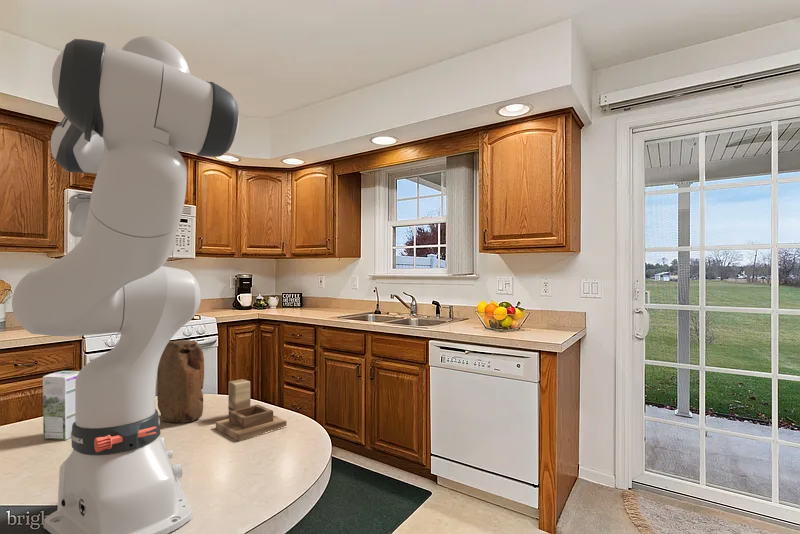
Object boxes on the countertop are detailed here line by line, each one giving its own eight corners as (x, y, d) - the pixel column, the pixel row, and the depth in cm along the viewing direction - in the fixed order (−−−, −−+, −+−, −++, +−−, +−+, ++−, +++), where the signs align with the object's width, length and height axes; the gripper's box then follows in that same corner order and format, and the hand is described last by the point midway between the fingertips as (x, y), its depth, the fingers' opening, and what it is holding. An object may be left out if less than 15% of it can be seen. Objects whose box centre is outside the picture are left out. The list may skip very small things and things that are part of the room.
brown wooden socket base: (286, 427, 106) (286, 410, 106) (239, 441, 98) (239, 423, 98) (261, 415, 115) (261, 400, 115) (215, 428, 106) (215, 411, 106)
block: (154, 420, 112) (154, 341, 112) (179, 411, 118) (179, 337, 118) (184, 426, 107) (184, 344, 107) (209, 417, 114) (209, 340, 114)
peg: (250, 416, 115) (250, 381, 115) (235, 420, 112) (235, 384, 112) (243, 412, 117) (243, 378, 117) (228, 416, 114) (228, 381, 114)
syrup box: (86, 431, 104) (86, 370, 104) (64, 441, 98) (64, 376, 98) (64, 430, 105) (64, 369, 105) (41, 440, 99) (41, 375, 99)
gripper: (72, 190, 89) (72, 258, 89) (177, 201, 104) (177, 259, 104) (65, 193, 93) (65, 258, 93) (167, 203, 108) (167, 259, 108)
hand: (125, 259), depth 99 cm, fingers open, 8 cm apart
